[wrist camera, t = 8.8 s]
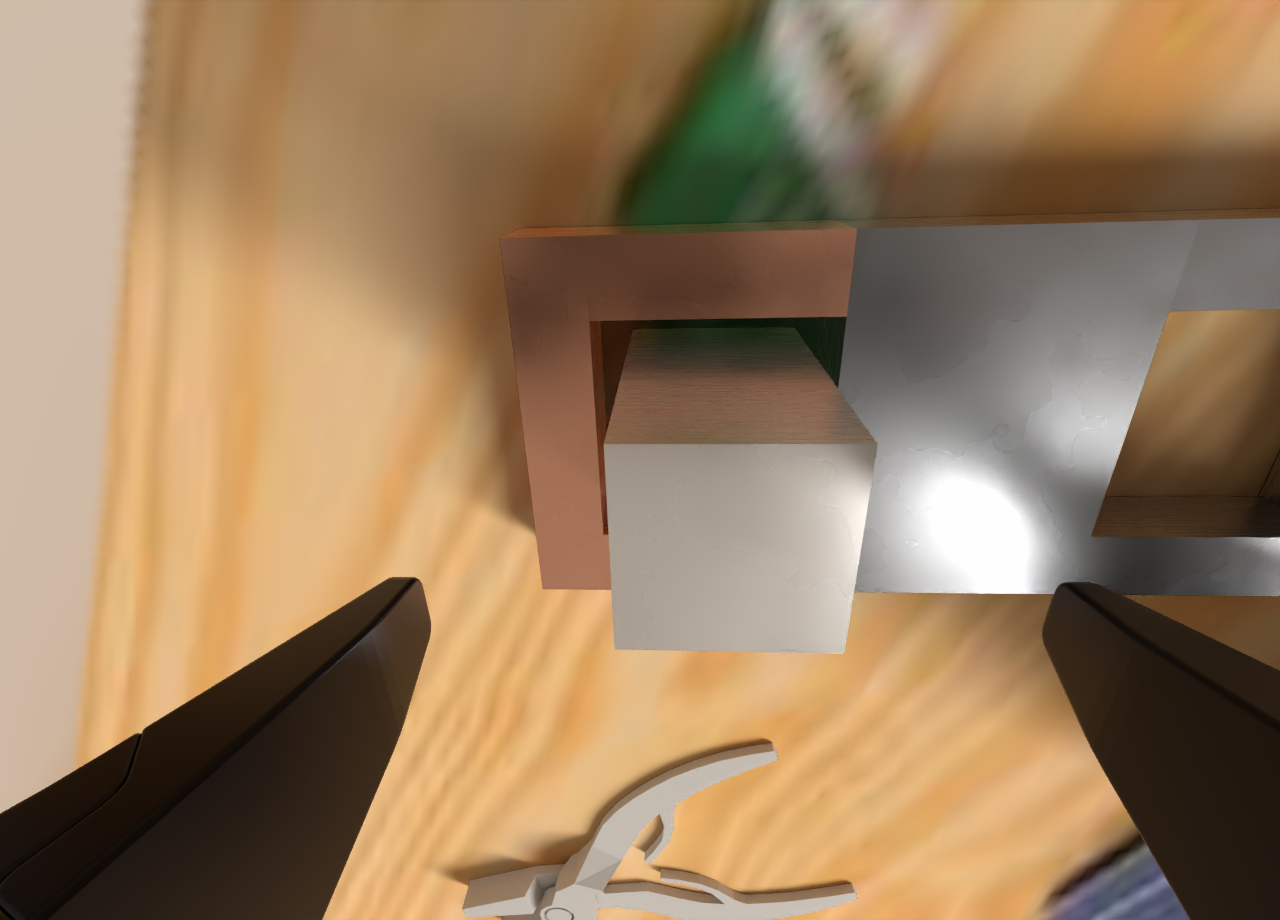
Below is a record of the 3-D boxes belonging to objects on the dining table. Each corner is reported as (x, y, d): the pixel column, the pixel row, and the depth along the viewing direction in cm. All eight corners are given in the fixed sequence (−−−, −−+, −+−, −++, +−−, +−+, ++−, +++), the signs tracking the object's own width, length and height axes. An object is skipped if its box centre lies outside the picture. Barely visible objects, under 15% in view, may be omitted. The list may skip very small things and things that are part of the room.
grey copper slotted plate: (1485, 202, 13) (1611, 209, 11) (1299, 551, 17) (1371, 597, 15) (521, 228, 14) (499, 237, 13) (555, 547, 18) (542, 589, 17)
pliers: (865, 926, 24) (540, 992, 28) (855, 883, 25) (546, 951, 29) (774, 768, 20) (412, 868, 24) (768, 729, 22) (427, 828, 25)
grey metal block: (794, 326, 15) (877, 444, 9) (781, 471, 17) (844, 654, 11) (633, 328, 15) (603, 443, 9) (637, 470, 17) (615, 649, 11)
